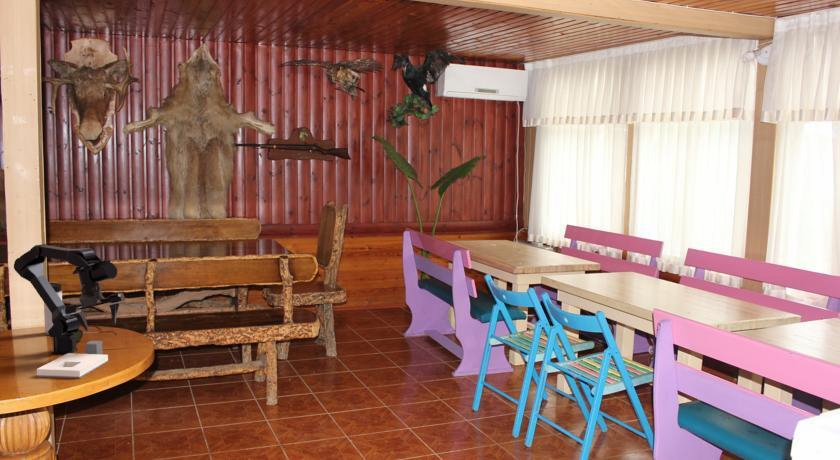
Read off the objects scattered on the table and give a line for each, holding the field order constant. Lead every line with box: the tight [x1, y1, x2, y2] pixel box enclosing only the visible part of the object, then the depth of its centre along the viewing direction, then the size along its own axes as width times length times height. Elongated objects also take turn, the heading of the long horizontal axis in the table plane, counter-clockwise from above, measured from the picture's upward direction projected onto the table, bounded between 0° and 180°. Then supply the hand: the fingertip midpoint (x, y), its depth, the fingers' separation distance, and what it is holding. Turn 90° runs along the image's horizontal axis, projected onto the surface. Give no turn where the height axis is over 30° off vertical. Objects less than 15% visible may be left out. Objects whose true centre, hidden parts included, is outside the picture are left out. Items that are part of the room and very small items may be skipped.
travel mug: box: [43, 282, 63, 336], centre depth 276 cm, size 6×7×20 cm
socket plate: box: [36, 352, 109, 379], centre depth 233 cm, size 14×18×2 cm
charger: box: [84, 340, 104, 355], centre depth 248 cm, size 4×4×5 cm
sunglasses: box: [73, 325, 118, 343], centre depth 275 cm, size 14×15×5 cm
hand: (101, 327), depth 247 cm, fingers open, 9 cm apart
